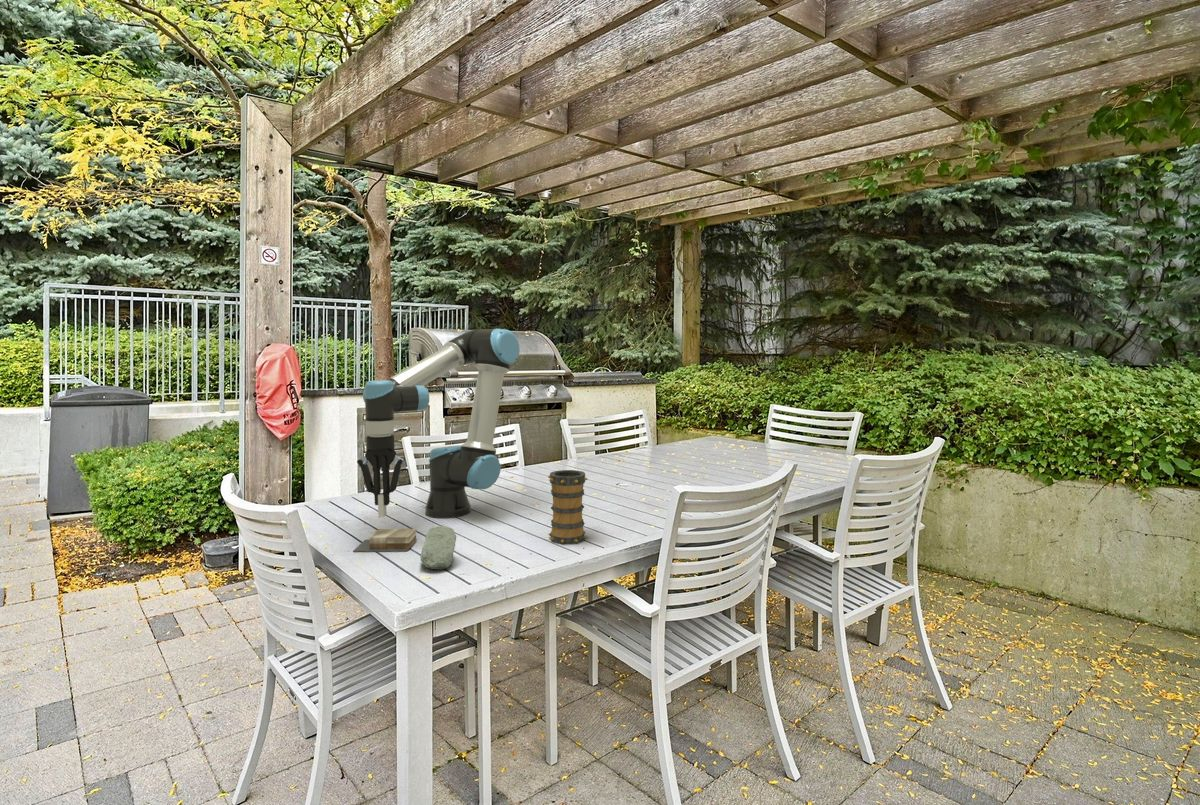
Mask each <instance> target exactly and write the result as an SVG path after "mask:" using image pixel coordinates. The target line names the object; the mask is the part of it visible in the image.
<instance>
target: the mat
mask: <svg viewBox="0 0 1200 805" xmlns="http://www.w3.org/2000/svg"><path fill="white" fill-rule="evenodd" d="M416 542H417V540H416V541H415V543H416ZM411 547H412V546H411ZM411 547H410V549H411ZM410 549H376V550H370V544H369V539H364V540H363V541H362V542H361V543H360V544H358V546H356V547H355V548H354V549H353V551H352V552H353V553H385V552H386V553H393V552H394V553H396V552H397V553H398V552H399V553H400V552H405V553H406V552H408V551H409V550H410Z"/></svg>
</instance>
